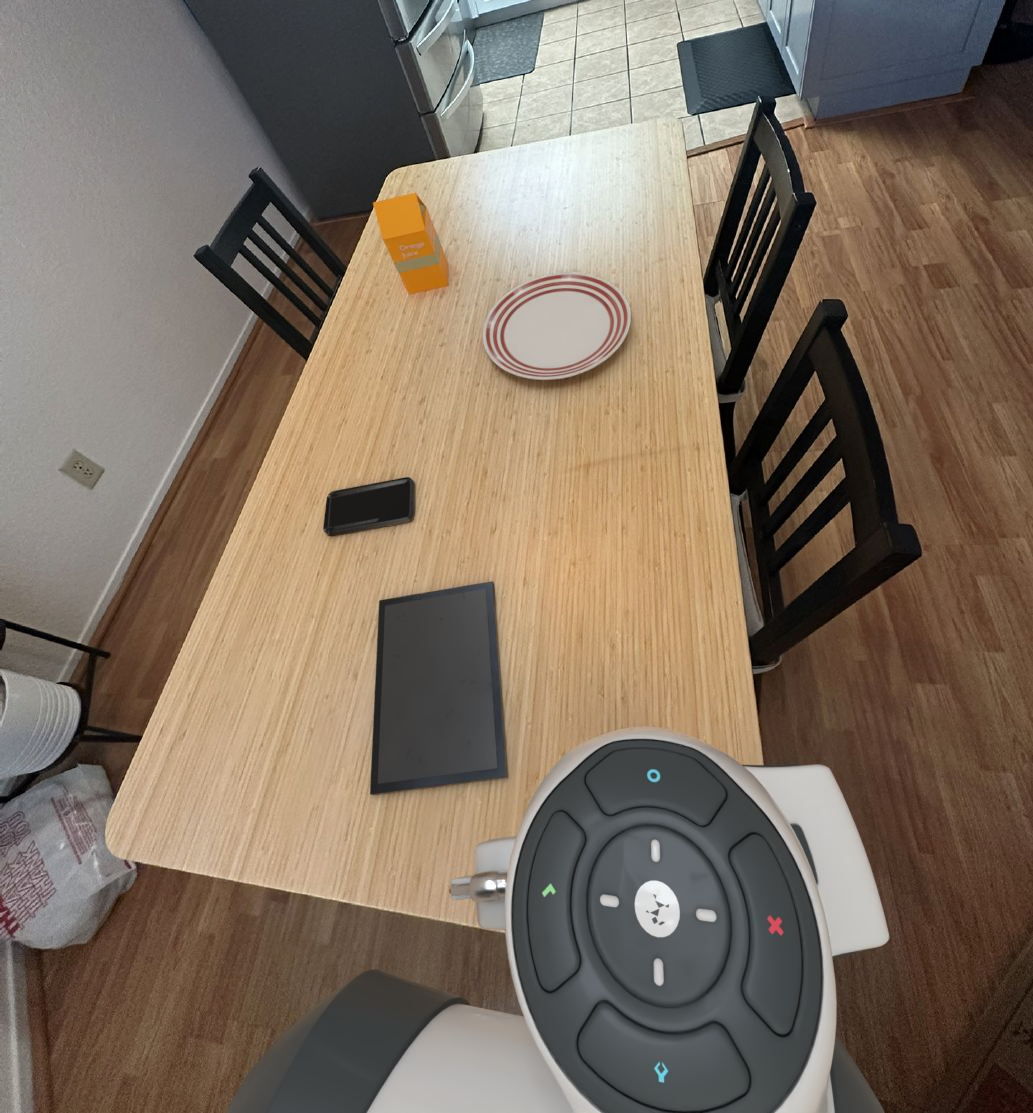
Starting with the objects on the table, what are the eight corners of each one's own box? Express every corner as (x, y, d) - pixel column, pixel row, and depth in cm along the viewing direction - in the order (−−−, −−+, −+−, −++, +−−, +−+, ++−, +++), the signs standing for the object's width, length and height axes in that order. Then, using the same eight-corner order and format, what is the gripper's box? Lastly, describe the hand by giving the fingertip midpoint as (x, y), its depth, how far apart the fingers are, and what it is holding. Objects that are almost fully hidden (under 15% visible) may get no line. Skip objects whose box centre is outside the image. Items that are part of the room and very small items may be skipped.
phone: (327, 492, 97) (412, 475, 95) (330, 495, 98) (415, 479, 96) (322, 535, 92) (412, 518, 91) (325, 538, 93) (414, 522, 92)
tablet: (508, 777, 69) (506, 776, 68) (373, 795, 71) (369, 794, 70) (494, 583, 83) (492, 580, 82) (381, 602, 85) (378, 599, 84)
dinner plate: (472, 309, 117) (468, 297, 114) (601, 265, 117) (600, 252, 114) (505, 411, 101) (500, 399, 98) (655, 360, 100) (655, 347, 98)
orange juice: (410, 271, 128) (373, 191, 112) (448, 262, 127) (417, 180, 111) (408, 295, 124) (370, 215, 108) (448, 286, 123) (415, 204, 107)
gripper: (438, 985, 25) (507, 936, 36) (934, 940, 23) (846, 903, 34) (436, 811, 29) (499, 815, 40) (864, 758, 27) (805, 778, 38)
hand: (661, 855), depth 37 cm, fingers open, 8 cm apart
